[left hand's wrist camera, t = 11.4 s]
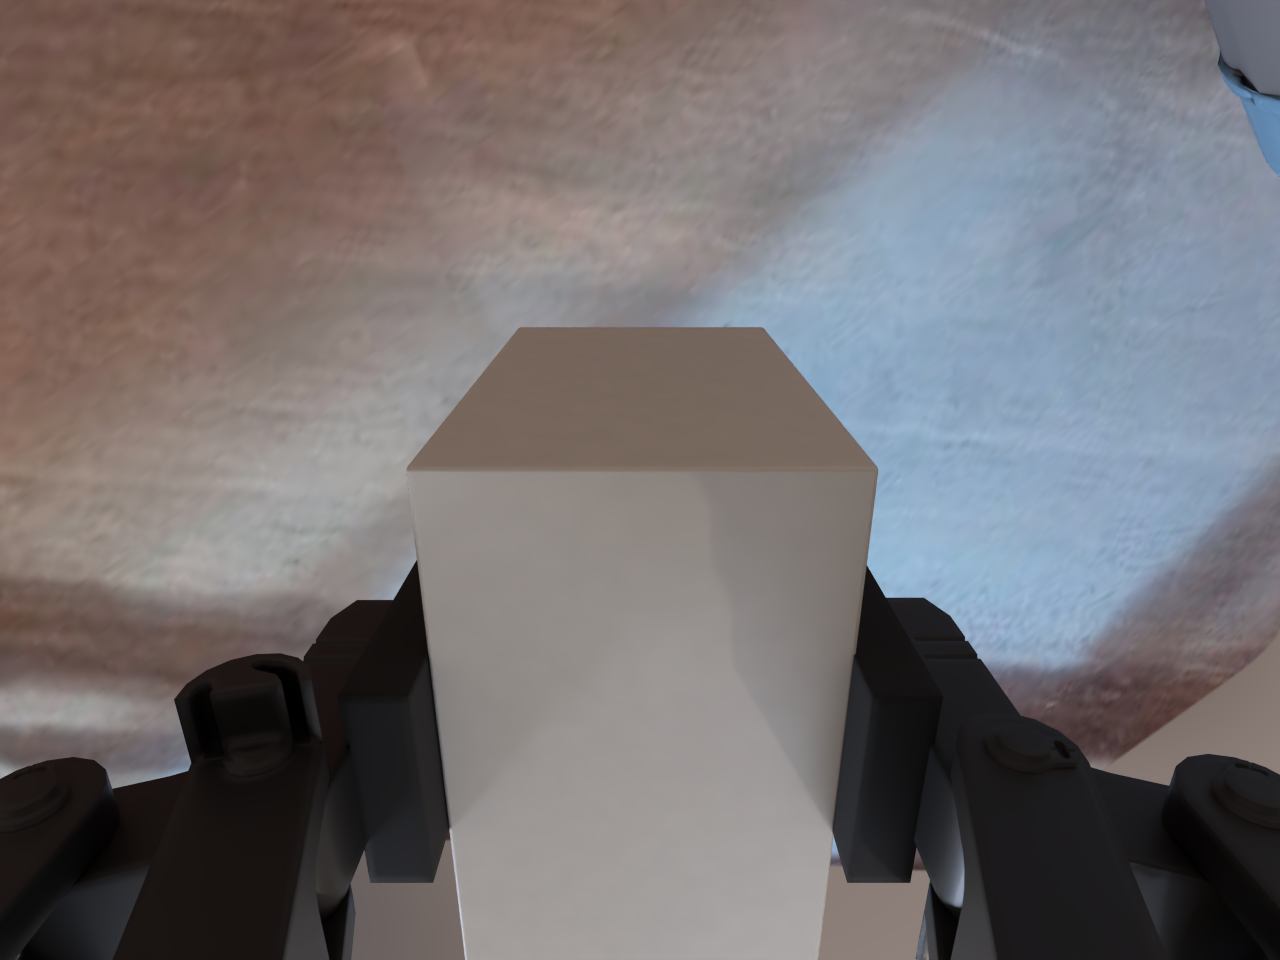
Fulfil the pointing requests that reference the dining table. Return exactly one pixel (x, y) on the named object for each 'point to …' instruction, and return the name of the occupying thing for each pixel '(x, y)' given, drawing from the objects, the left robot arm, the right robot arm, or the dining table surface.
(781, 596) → the brick
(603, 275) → the dining table surface
